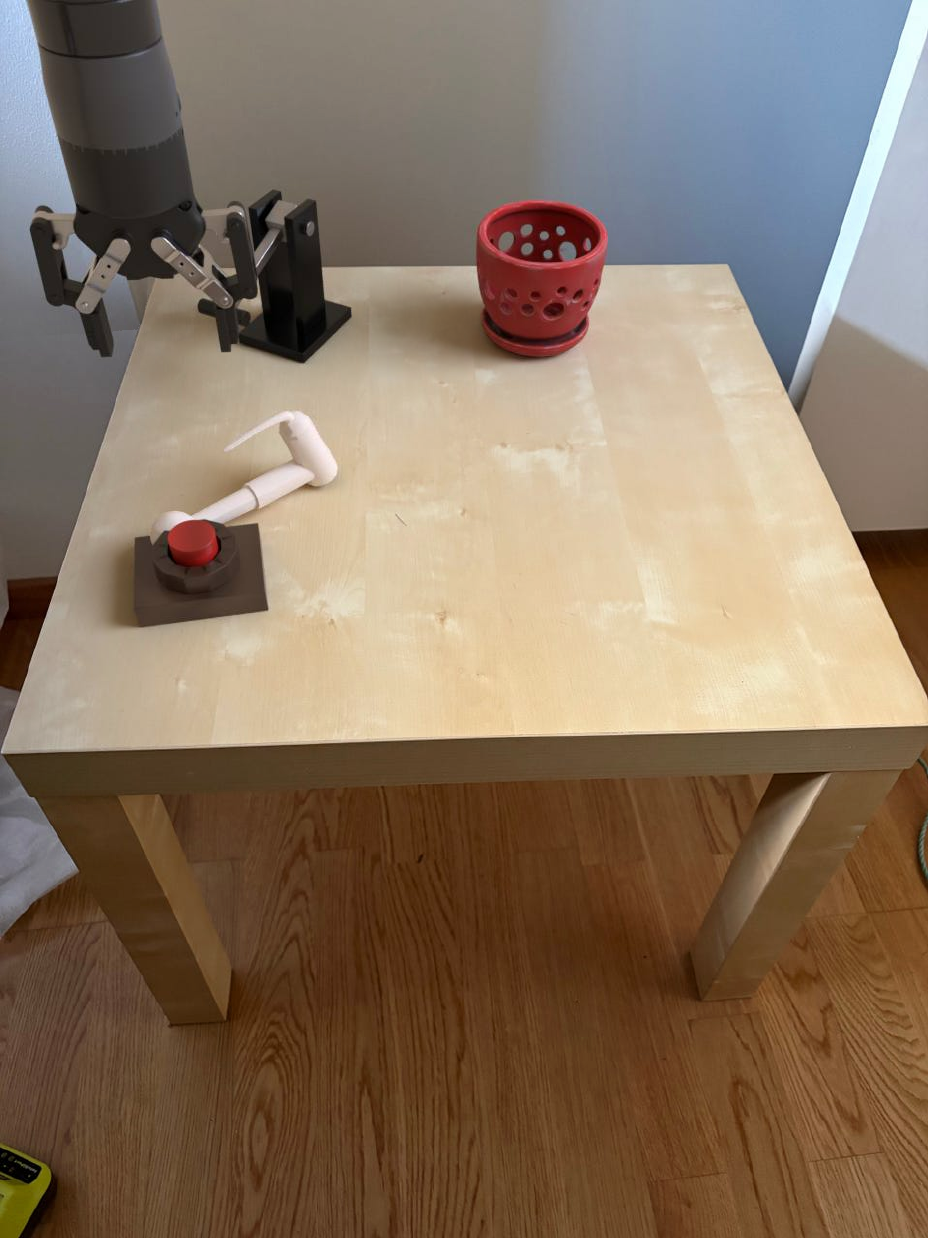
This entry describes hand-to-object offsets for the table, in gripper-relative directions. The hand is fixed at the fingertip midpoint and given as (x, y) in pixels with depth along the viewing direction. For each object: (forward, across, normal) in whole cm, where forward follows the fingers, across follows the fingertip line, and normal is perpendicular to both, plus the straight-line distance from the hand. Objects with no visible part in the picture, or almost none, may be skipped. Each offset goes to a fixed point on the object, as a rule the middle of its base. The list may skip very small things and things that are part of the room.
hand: (168, 348), depth 71 cm
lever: (+8, +6, +24) cm, 26 cm away
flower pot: (+16, +34, +25) cm, 46 cm away
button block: (+17, 0, -8) cm, 19 cm away
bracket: (+17, +9, +29) cm, 34 cm away
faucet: (+17, +4, 0) cm, 17 cm away
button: (+13, 0, -8) cm, 15 cm away
